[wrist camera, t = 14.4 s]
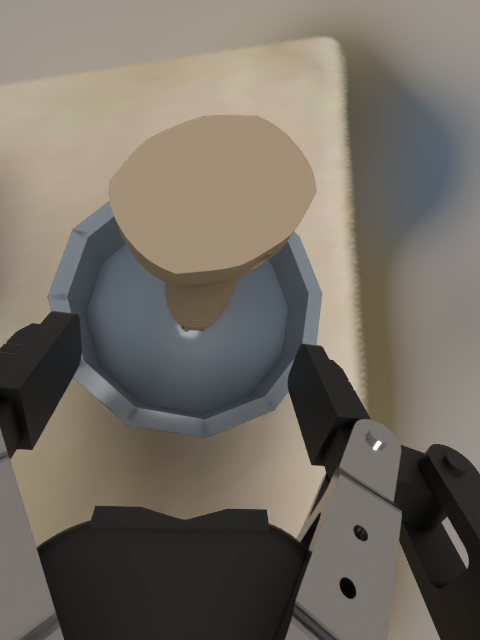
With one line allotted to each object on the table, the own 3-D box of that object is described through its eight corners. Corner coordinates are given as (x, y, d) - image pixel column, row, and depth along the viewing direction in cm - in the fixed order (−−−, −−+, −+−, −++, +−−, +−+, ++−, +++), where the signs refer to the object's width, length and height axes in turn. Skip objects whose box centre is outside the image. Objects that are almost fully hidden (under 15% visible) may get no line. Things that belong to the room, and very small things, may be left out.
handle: (139, 310, 23) (76, 166, 8) (210, 268, 25) (255, 93, 10) (176, 363, 22) (175, 307, 8) (244, 316, 24) (342, 204, 10)
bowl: (45, 401, 21) (7, 405, 16) (115, 194, 25) (102, 149, 21) (277, 441, 24) (303, 454, 19) (304, 247, 28) (331, 218, 23)
